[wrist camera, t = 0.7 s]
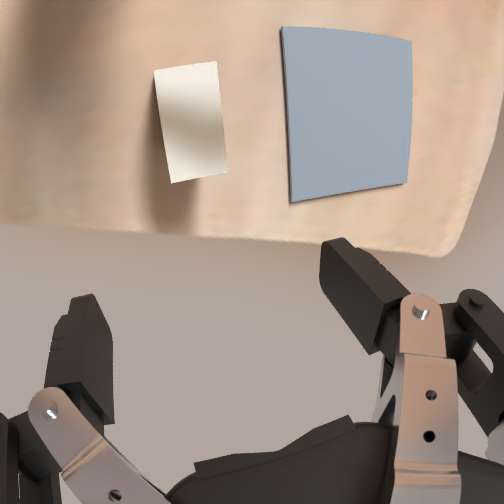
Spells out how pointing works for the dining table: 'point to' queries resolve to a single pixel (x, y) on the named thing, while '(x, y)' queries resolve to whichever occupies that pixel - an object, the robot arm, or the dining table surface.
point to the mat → (346, 110)
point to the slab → (191, 120)
